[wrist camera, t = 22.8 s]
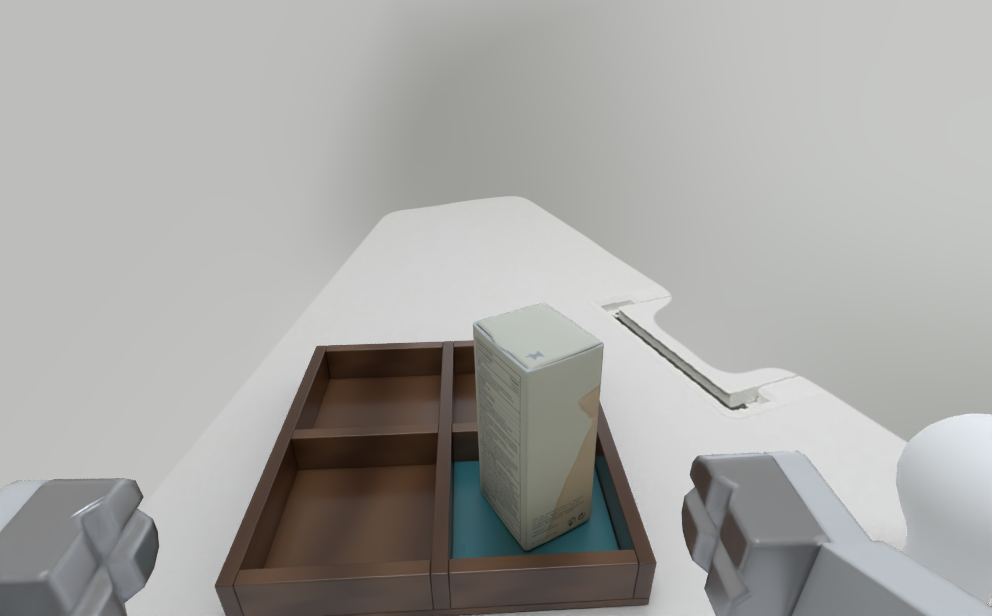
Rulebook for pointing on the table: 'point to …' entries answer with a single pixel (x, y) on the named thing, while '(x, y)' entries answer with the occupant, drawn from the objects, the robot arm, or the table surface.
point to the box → (537, 420)
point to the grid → (413, 504)
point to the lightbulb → (950, 500)
